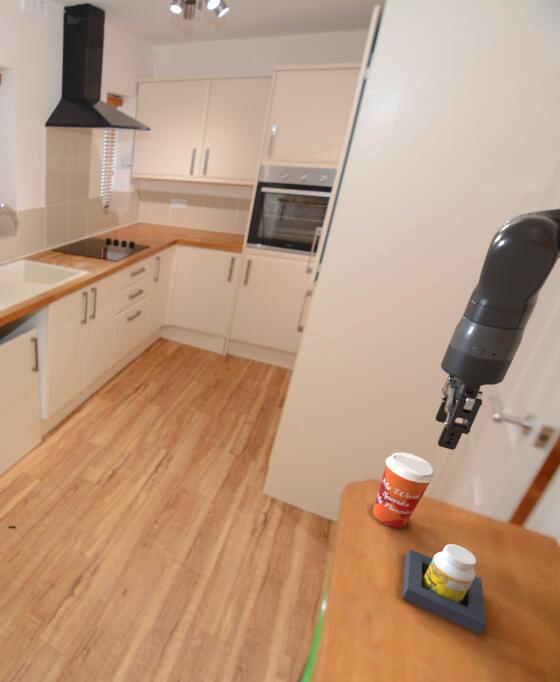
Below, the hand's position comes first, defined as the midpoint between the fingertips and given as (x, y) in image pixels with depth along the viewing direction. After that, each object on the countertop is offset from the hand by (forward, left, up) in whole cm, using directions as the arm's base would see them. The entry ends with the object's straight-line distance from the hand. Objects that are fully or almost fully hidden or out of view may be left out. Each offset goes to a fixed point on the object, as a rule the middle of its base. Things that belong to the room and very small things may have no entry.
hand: (444, 433), depth 77 cm
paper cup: (+1, -7, -26) cm, 27 cm away
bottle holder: (-7, +8, -26) cm, 28 cm away
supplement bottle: (-7, +8, -26) cm, 28 cm away
